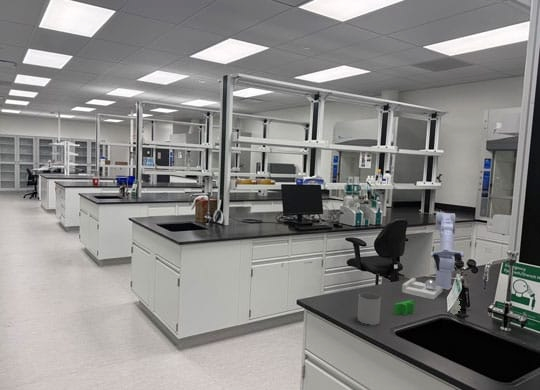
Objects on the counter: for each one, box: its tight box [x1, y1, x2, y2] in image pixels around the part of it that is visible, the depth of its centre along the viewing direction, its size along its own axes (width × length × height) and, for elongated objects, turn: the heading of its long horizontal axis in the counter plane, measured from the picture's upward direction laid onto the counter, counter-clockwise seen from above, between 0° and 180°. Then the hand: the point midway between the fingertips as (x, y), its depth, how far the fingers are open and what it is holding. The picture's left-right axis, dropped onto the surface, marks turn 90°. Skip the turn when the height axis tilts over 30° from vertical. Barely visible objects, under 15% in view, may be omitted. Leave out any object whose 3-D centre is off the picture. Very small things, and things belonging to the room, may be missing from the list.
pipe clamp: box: [393, 299, 415, 316], centre depth 159 cm, size 11×4×5 cm, turn 122°
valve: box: [449, 298, 468, 316], centre depth 163 cm, size 7×7×12 cm
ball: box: [424, 279, 436, 290], centre depth 185 cm, size 5×5×5 cm
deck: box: [401, 277, 444, 301], centre depth 189 cm, size 16×15×4 cm
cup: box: [357, 292, 382, 326], centre depth 149 cm, size 8×8×10 cm
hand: (446, 270), depth 178 cm, fingers open, 7 cm apart
